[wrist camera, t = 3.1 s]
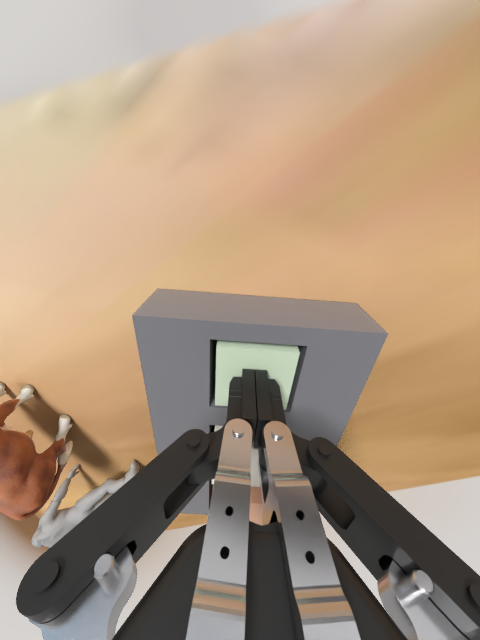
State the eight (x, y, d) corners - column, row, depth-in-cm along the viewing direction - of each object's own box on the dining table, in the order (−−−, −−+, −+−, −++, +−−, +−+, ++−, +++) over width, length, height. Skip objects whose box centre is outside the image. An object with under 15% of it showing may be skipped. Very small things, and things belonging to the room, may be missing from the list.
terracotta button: (265, 467, 22) (267, 504, 19) (259, 492, 24) (261, 528, 21) (215, 463, 22) (211, 500, 19) (214, 489, 24) (210, 525, 21)
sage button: (290, 326, 16) (299, 352, 13) (280, 378, 18) (286, 410, 15) (221, 321, 16) (216, 347, 13) (219, 374, 18) (214, 405, 15)
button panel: (356, 303, 16) (388, 333, 12) (295, 478, 27) (302, 520, 23) (157, 288, 16) (132, 315, 12) (178, 470, 27) (168, 512, 23)
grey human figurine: (130, 433, 28) (31, 487, 26) (124, 475, 23) (2, 544, 21) (157, 461, 30) (68, 512, 29) (156, 504, 26) (50, 567, 24)
